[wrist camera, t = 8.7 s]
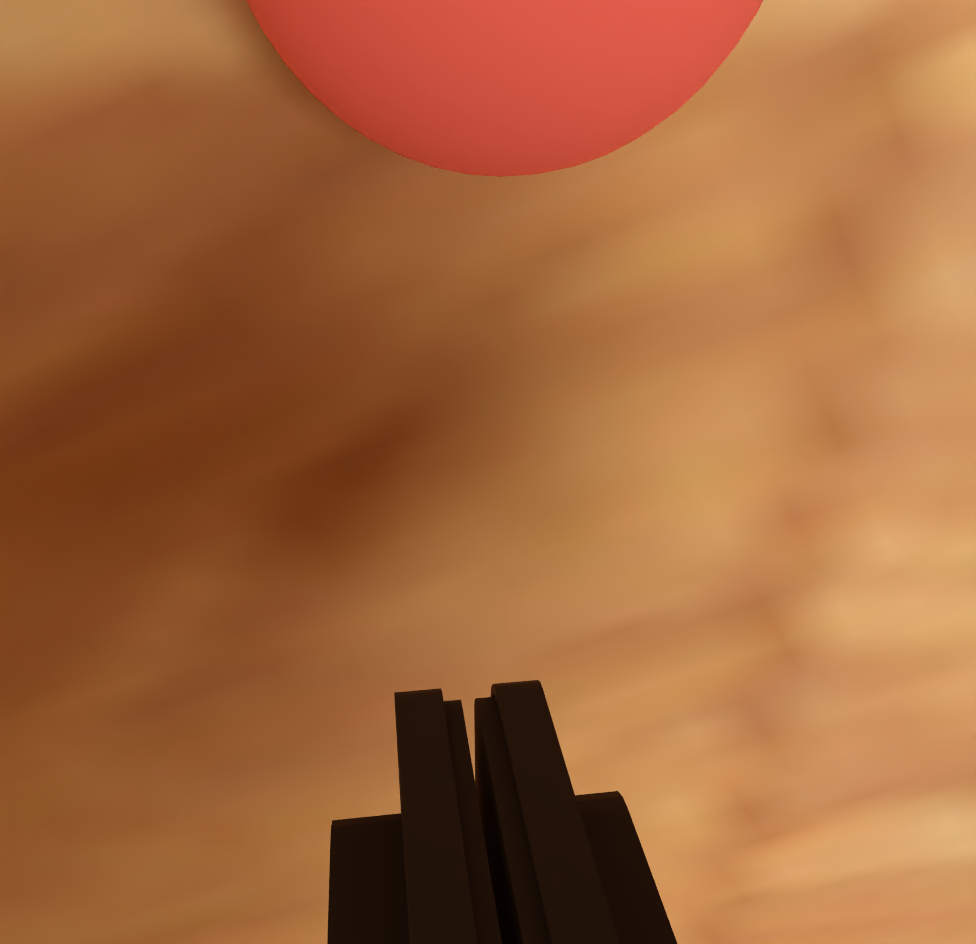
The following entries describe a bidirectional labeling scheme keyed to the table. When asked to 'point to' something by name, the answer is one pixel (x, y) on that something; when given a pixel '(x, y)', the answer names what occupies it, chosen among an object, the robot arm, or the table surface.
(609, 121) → the ball
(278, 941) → the table surface
